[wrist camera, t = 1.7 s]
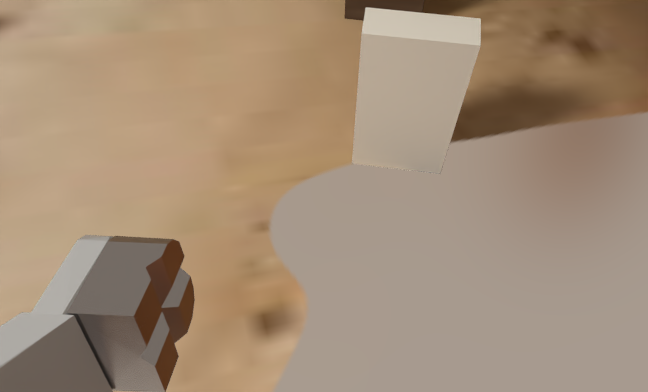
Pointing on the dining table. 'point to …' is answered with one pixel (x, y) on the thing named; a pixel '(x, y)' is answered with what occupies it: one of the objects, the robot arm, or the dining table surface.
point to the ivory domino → (411, 86)
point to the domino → (380, 6)
